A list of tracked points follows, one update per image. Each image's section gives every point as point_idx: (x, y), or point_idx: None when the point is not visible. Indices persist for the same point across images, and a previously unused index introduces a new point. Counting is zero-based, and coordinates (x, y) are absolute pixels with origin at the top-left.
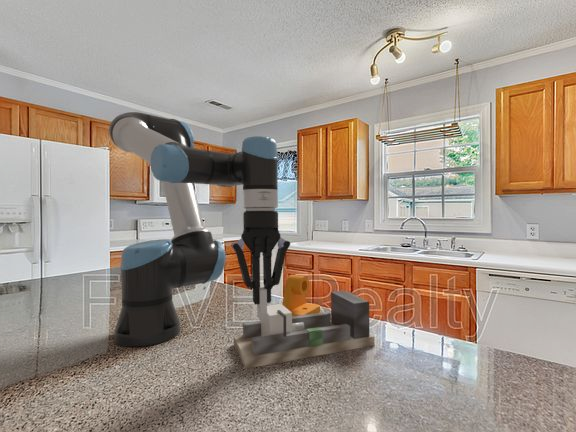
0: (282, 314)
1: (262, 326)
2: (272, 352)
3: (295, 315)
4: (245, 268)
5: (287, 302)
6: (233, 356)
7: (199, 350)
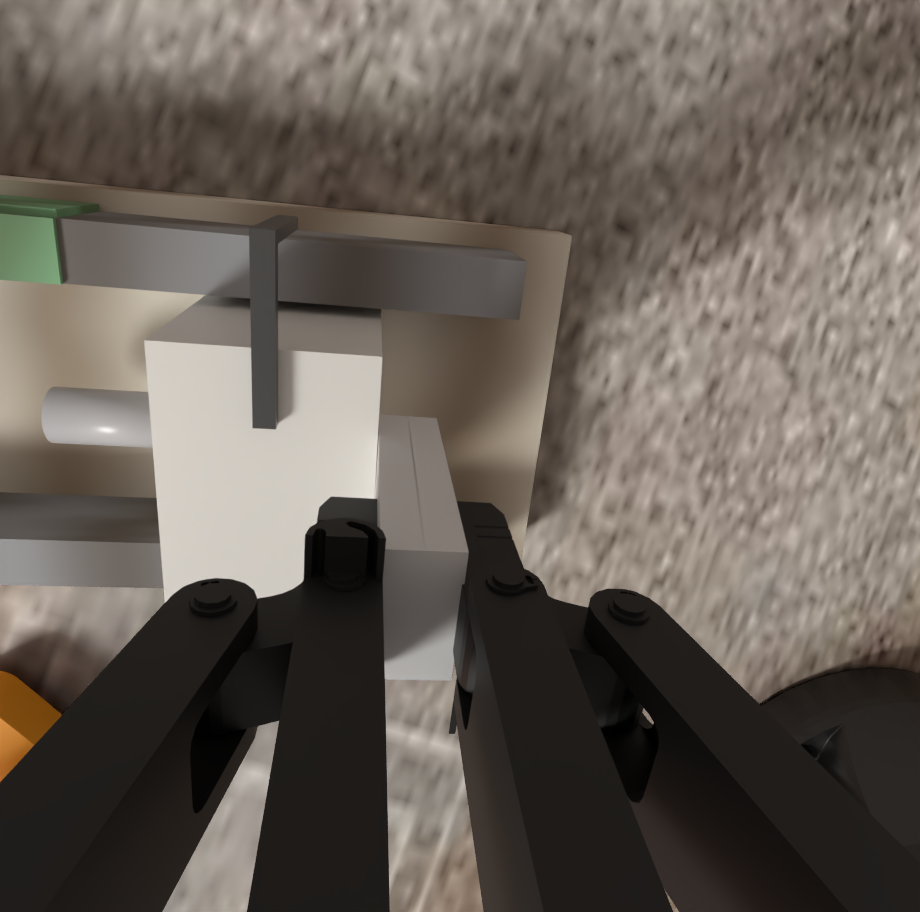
0: (270, 287)
1: None
2: (386, 238)
3: (27, 727)
4: (801, 806)
5: None
6: (560, 406)
7: (687, 541)
